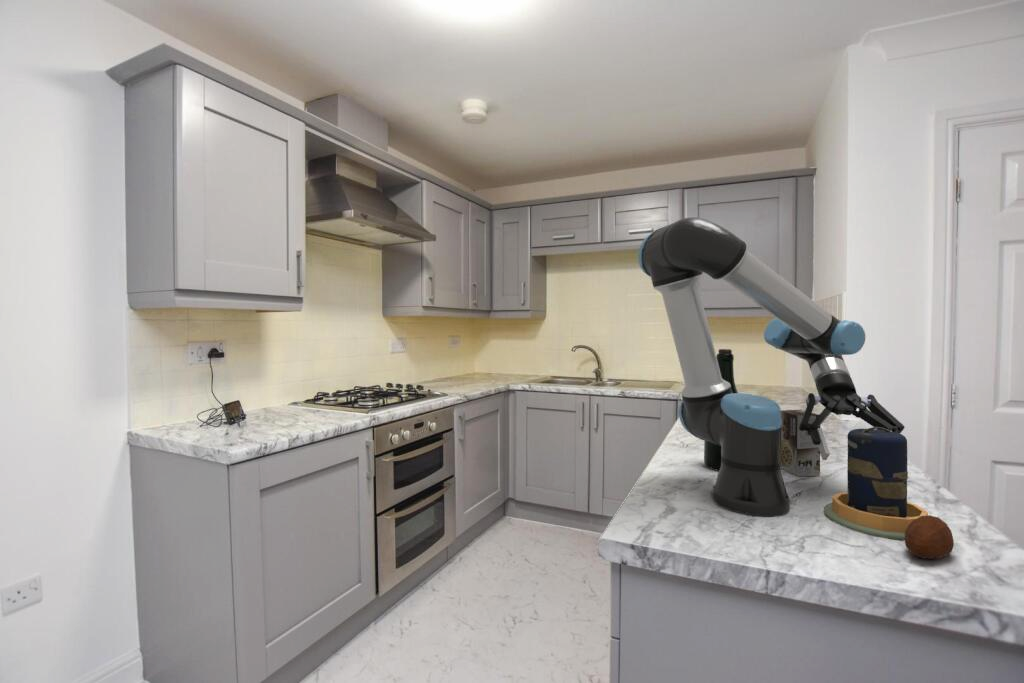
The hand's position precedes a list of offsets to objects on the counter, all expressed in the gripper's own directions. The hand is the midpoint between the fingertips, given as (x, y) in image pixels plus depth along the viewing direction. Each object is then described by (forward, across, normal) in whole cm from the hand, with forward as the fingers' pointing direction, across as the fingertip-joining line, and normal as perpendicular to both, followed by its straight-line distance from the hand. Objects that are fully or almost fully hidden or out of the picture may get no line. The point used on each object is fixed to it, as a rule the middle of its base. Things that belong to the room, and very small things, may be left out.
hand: (861, 458), depth 102 cm
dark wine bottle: (-10, +22, -26) cm, 36 cm away
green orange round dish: (+13, 0, -2) cm, 13 cm away
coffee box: (-10, +4, -26) cm, 28 cm away
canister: (+12, +1, -1) cm, 13 cm away
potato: (+23, 0, +8) cm, 24 cm away
